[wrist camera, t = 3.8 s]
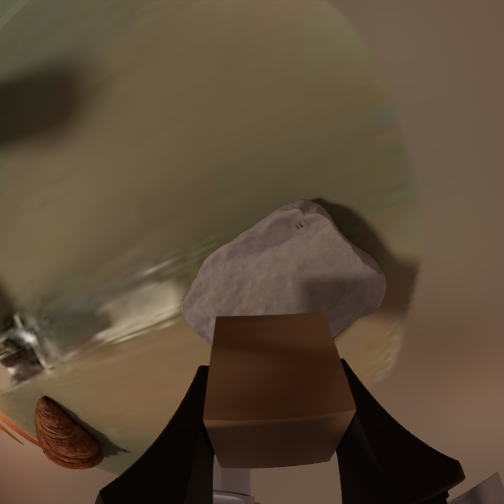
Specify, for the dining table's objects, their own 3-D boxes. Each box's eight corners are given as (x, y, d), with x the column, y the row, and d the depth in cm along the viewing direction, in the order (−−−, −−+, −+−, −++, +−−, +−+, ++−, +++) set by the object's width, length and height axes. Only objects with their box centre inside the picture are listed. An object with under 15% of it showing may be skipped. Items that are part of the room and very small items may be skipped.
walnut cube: (225, 382, 13) (220, 468, 9) (216, 316, 11) (202, 419, 7) (312, 378, 13) (329, 461, 9) (323, 311, 11) (356, 409, 7)
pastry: (22, 404, 31) (7, 434, 24) (45, 392, 27) (25, 432, 20) (89, 452, 37) (80, 482, 30) (129, 450, 33) (120, 488, 26)
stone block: (181, 284, 21) (271, 362, 23) (156, 312, 17) (268, 401, 18) (290, 170, 18) (382, 269, 19) (293, 168, 14) (406, 295, 15)
